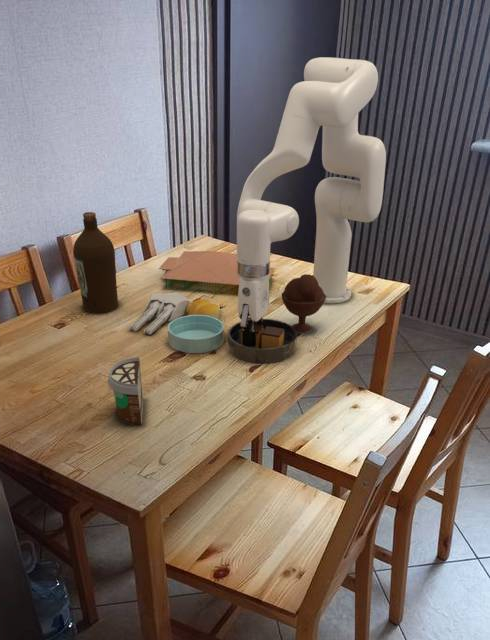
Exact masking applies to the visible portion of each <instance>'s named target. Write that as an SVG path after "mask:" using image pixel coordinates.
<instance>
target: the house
mask: <svg viewBox="0 0 490 640" xmlns="http://www.w3.org/2000/svg"><path fill="white" fill-rule="evenodd" d="M158 270H162V271H165V273H164V275H163V276H162V277H161V279H162V280H165V289H172V290H174V289H176V285H181V287H182V288H179V290H181V291H190V289H189V286H193V287H195V283H203V284H204V285H203V284H197V286H196V287H195V289H196V290H195V289H191V291H193V292H198V290H197V287H204V290H202V292H204V293H205V292H206V293H207V291H205V290H206V288H205V287H206V284H215V285H208V287H209V288H214V290H215V291H213V293H214V294H219V291H217V292H216V290H217V289H216V288H217V286H216V285H226V286H219V288H220V289H222V288H223V289H226V292H224V294H225V295H230V292H227V289H228V285H229V286H236V287H237V288H236V287H233V290H237V291H236V293H237V294H236V293H235V295H236V296H238V293H239V281H240V277H238V276H237V253H231V252H226V251H225V252H223V251H215V250H214V251H213V250H192V251H191V250H189V251H188V250H186V251H183V252H182V253H181V255H180V256H179V257H178V256H177V257H173V256H171V257H170V256H169V257H167V258H166V260H164V262H163V263H162V264H161V265H160V267H159V268H158ZM274 271H275V267H270V275H269V285H270V284H271V282H272V276H273V274H274ZM175 282H176V283H175ZM172 283H173V284H174V287H170V285H171V284H172ZM183 285H184V286H183Z"/></svg>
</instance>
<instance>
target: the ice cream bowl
mask: <svg viewBox="0 0 490 640" xmlns="http://www.w3.org/2000/svg"><path fill="white" fill-rule="evenodd" d="M280 294H281V295H280V296H281V300H282V303H283V305H284V306H285V308H286V310H287V311H288V312H289V313H290V314H292V315H294V316H297V317H298V321H297V322H298V323H295V324H293V325H291V326H292V327H293V328H294V329H295V330H296V332H297V334H298V333H299V334H305V333H309V332H311V331H312V330H313V328H312V326H311V325H310V324H308V323H306V320H307V319H306V318H307V317H310V316H312V315H315V314H316V313H317V312H319V310H320V309H321V308H322V307H323V306H324V304H325V303H324V302H325V299H326V295H325V294H324V292H323V290H322V288H321V287H320V286H319V284H318V281H317V279H316V278H315V277H314V276H313V274H310V273H307V274H306V273H305V274H302V275H300V276H299V277H296V278H292V279H291V280H290V281H289V282H288V283H287V284H286V285H285V287H284V290H283V292H282V293H280Z"/></svg>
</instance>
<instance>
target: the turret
mask: <svg viewBox="0 0 490 640" xmlns="http://www.w3.org/2000/svg"><path fill="white" fill-rule="evenodd" d="M146 304H147V305H145V308H144V310H143V312H142V315H141V316H140V317H139V318H137V320H136V321H134V322H133V324H131V325H130V327H129V328H128V329H129V331H134V332H137V331H139V330H140V329H141V328H142V327H144V325H145V324H146V323H147V322H149V321H152V320H153V321H152V322H151V323H150V324H149V325H148V326H147V327H146V328H145V329H144V331H143V335H144V334H146V335H149V336H151V335H153V334H154V332H155V331H156V330H157V329H158V328H160V327H161V325H163V324H166V323H167V322H171V321H173V320H175V319H176V318H179V317H183V316H184V314H185V312H187V309H188V307H189V305H190V304H191V300H190V299H188V298H187V297H186V296H185V295H183V294H181V292H165V293H152V294H151V295H150V298H149V300H148V302H147V303H146Z"/></svg>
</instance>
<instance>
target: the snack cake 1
mask: <svg viewBox="0 0 490 640" xmlns="http://www.w3.org/2000/svg"><path fill="white" fill-rule="evenodd" d="M249 324H250V323H249ZM263 327H264V326H263V325H256V324H255V329H254V331H256V345H255V346H254V347H252V346H247V347H252V348H260V347H261V344H262V332H263ZM241 345H243V344H242V329H241ZM244 346H246V345H244Z"/></svg>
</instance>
